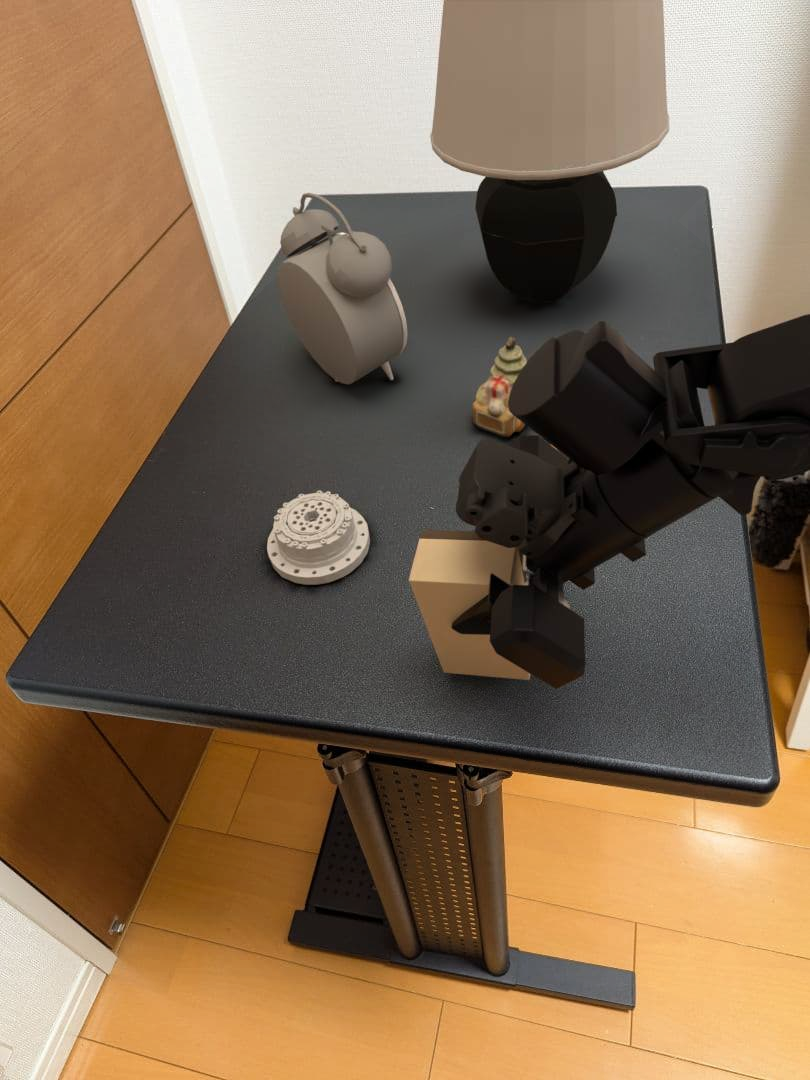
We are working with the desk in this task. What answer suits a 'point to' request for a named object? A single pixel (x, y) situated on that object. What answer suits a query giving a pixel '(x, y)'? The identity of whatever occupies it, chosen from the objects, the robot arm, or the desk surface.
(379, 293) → the alarm clock
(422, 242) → the desk surface
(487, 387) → the ornament
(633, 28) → the table lamp
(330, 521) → the mechanical component
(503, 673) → the back pad
